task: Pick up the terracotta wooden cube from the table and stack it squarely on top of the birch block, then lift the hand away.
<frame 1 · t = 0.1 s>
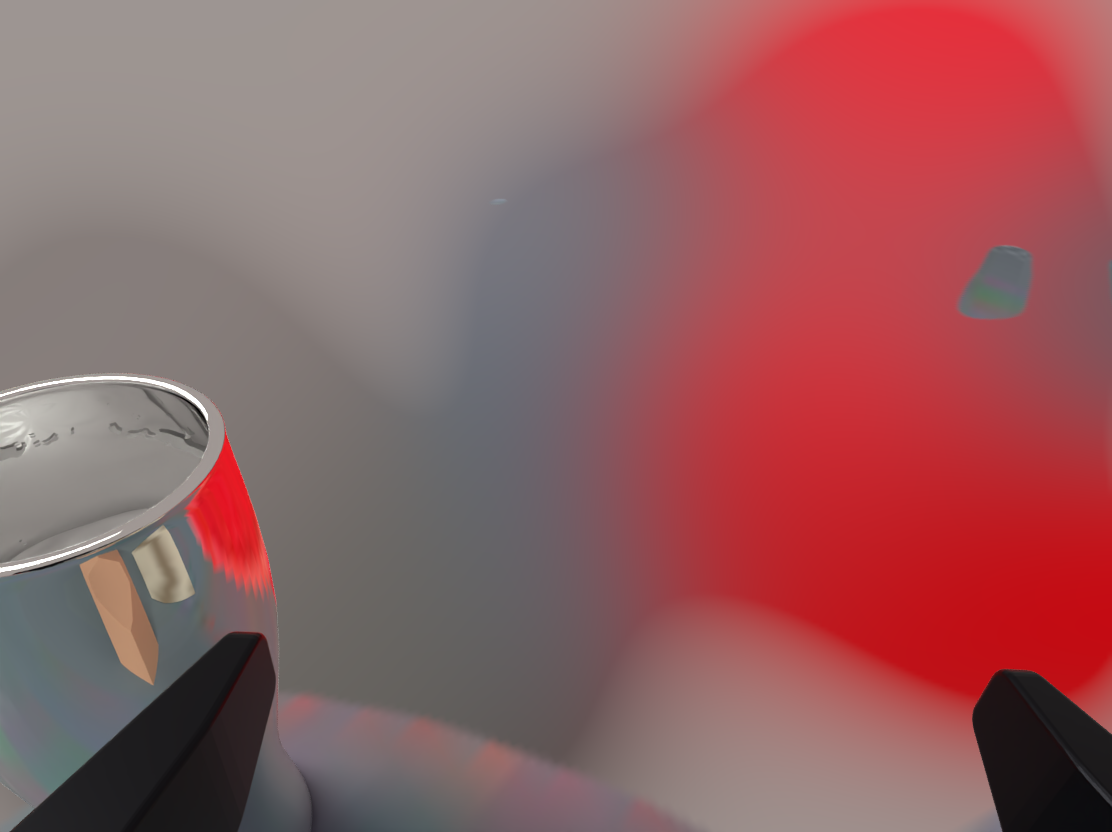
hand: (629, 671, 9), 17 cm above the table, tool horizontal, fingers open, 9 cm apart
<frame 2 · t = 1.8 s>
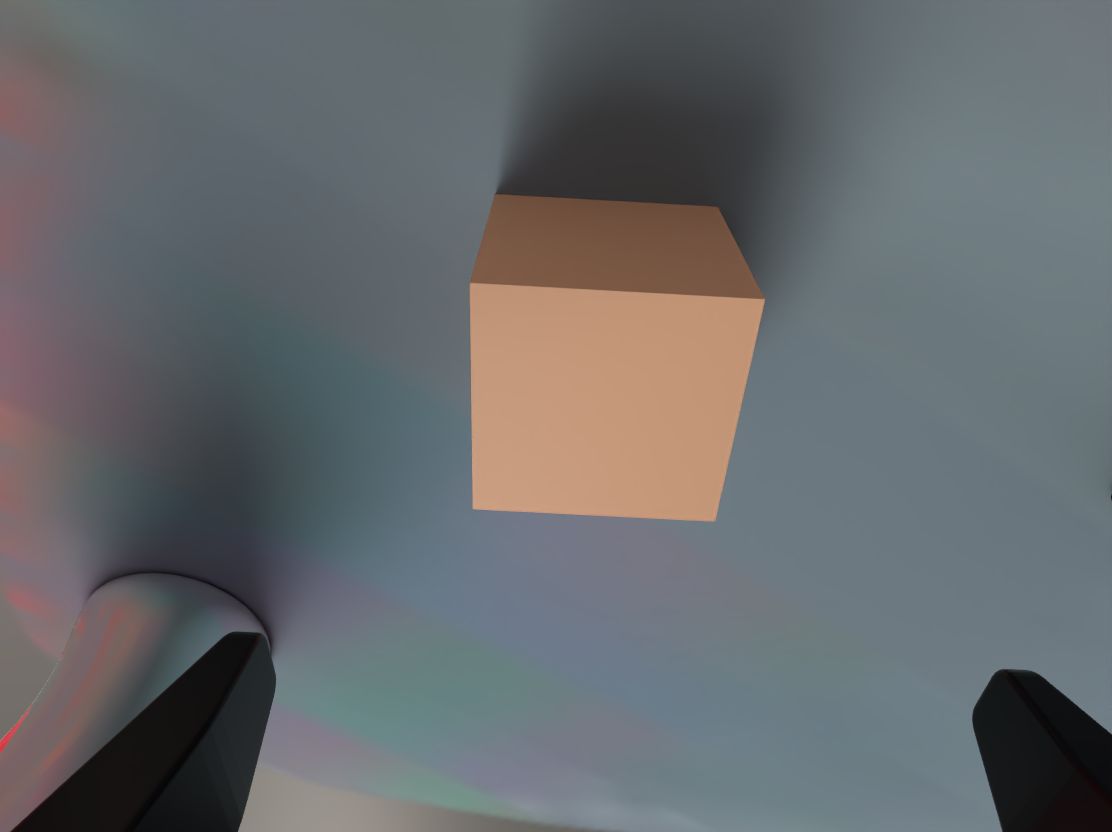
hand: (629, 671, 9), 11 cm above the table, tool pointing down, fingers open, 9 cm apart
terracotta cube: (597, 301, 18), on the table
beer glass: (183, 630, 25), on the table
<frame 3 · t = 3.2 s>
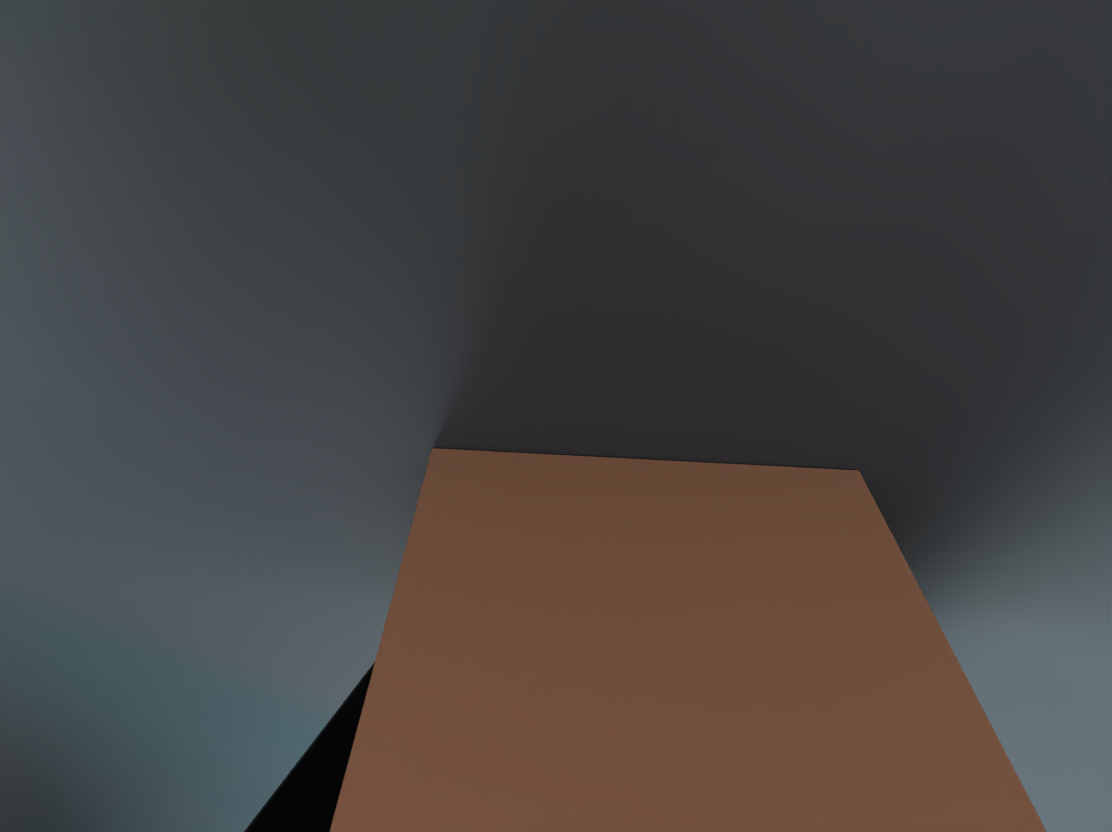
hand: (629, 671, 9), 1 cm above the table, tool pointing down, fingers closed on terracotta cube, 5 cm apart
terracotta cube: (624, 606, 10), on the table, touching gripper
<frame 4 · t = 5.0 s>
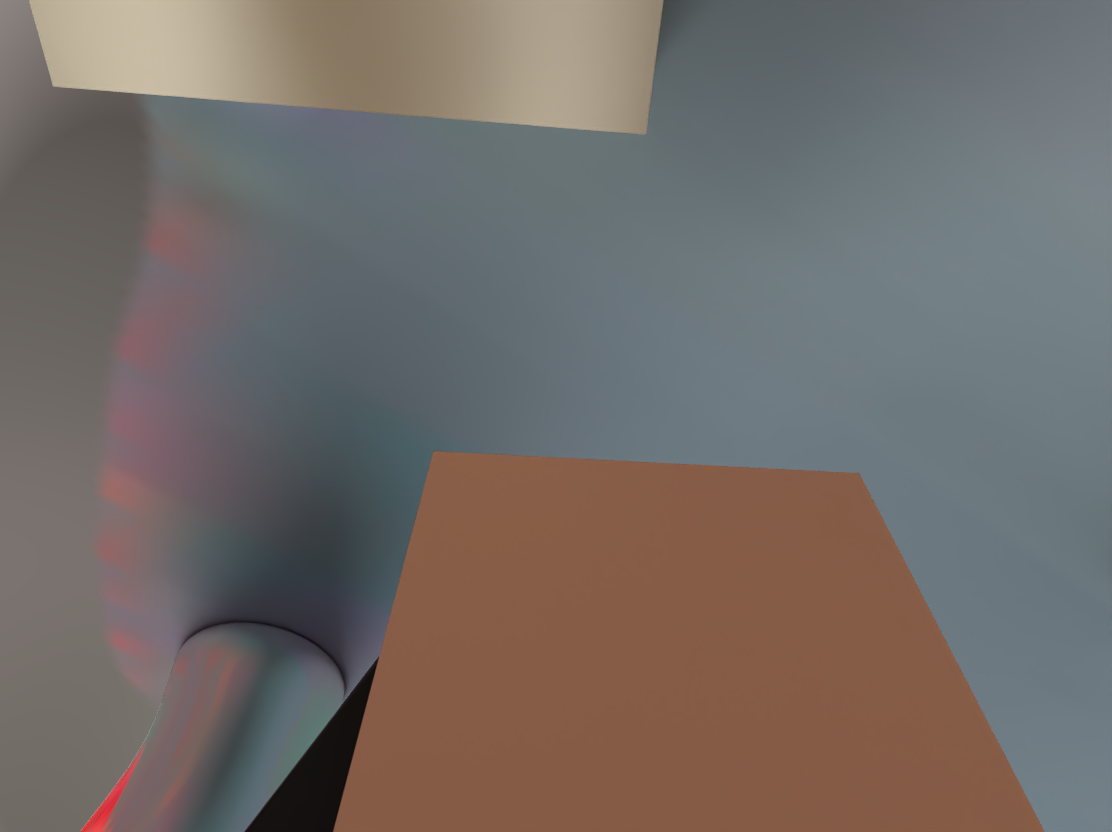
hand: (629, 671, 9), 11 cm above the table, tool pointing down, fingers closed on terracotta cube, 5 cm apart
terracotta cube: (625, 608, 10), point 10 cm above the table, touching gripper
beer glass: (265, 671, 28), on the table
when the fingers open (6 cm above the table, at t = 6.8 s): terracotta cube drops 1 cm, resting on birch block.
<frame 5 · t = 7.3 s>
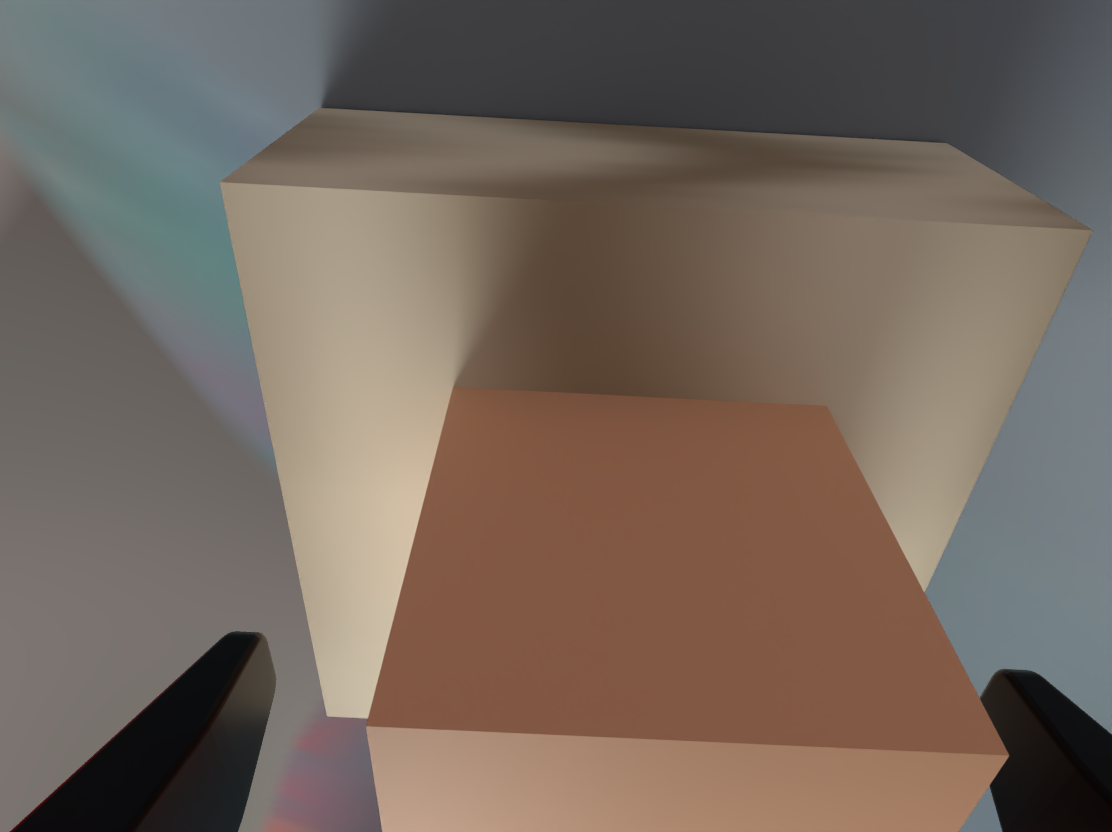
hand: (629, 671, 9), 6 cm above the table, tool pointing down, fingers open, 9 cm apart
terracotta cube: (622, 535, 11), point 4 cm above the table, touching birch block
birch block: (607, 392, 15), on the table
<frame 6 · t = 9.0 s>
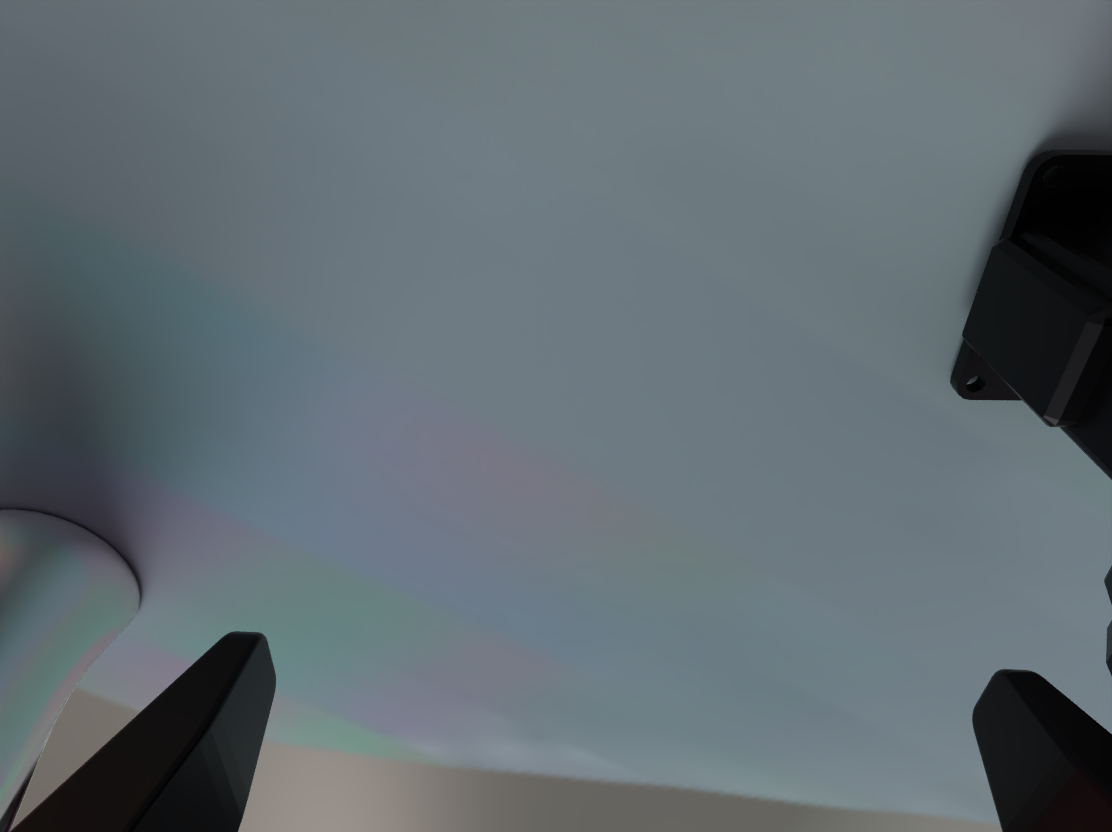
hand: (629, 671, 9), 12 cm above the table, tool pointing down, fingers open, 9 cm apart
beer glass: (50, 571, 25), on the table
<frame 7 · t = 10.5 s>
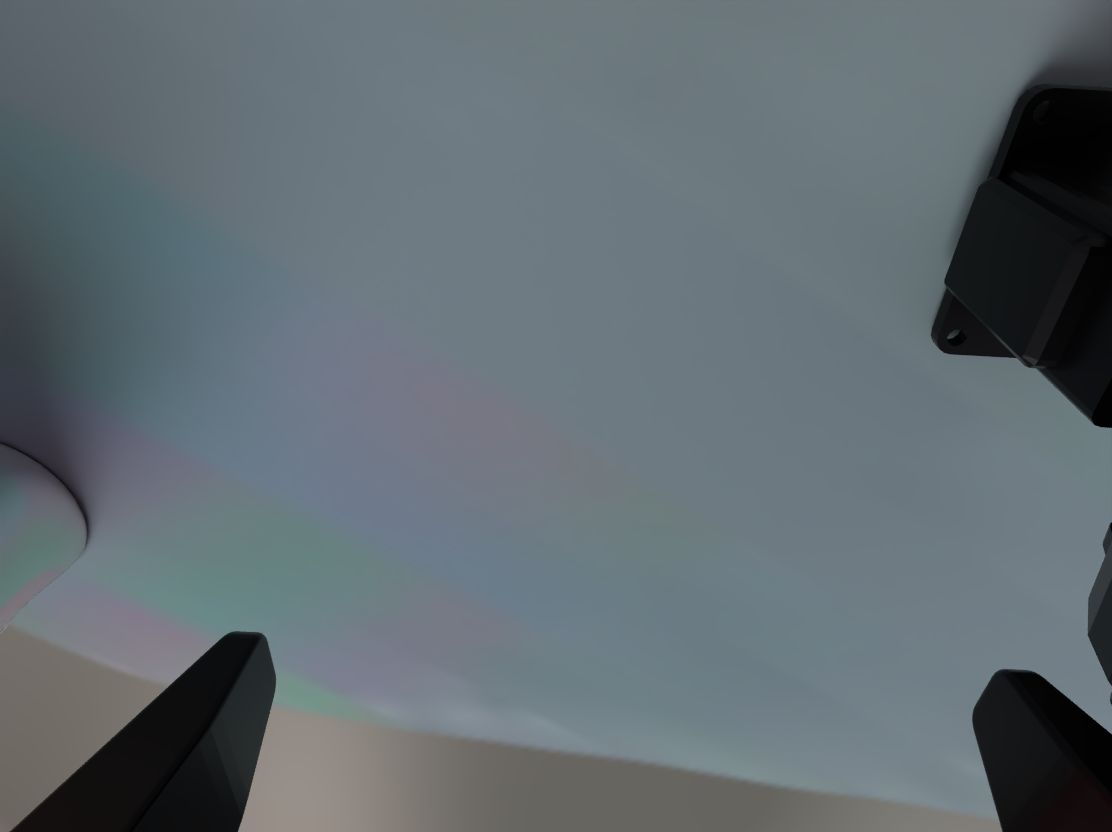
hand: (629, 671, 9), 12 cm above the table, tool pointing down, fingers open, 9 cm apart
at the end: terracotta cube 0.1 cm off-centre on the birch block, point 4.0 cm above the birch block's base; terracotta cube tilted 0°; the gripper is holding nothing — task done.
